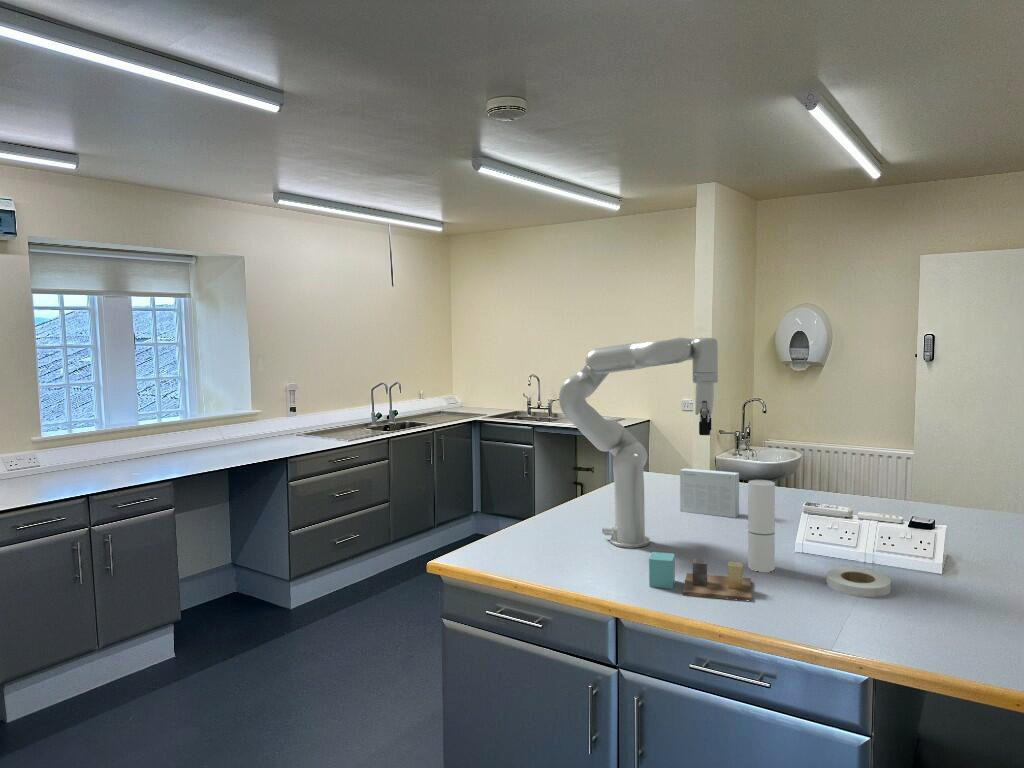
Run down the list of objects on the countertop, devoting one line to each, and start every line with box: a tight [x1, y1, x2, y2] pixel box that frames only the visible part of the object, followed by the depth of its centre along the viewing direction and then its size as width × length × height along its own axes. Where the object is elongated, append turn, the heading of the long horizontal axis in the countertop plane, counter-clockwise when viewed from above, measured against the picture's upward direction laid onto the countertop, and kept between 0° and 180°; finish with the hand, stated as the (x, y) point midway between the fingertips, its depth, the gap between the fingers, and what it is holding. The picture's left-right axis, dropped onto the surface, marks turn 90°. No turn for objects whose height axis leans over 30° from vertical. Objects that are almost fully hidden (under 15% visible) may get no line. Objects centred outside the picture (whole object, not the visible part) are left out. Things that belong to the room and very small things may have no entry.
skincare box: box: [679, 468, 740, 519], centre depth 259 cm, size 21×6×16 cm, turn 58°
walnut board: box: [682, 558, 752, 602], centre depth 186 cm, size 17×14×7 cm
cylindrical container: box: [747, 479, 776, 573], centre depth 199 cm, size 7×7×25 cm
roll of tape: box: [825, 566, 892, 598], centre depth 185 cm, size 16×15×3 cm
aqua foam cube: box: [648, 551, 676, 590], centre depth 190 cm, size 6×6×8 cm
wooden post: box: [727, 561, 743, 589], centre depth 184 cm, size 4×4×6 cm
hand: (705, 432), depth 216 cm, fingers open, 9 cm apart
